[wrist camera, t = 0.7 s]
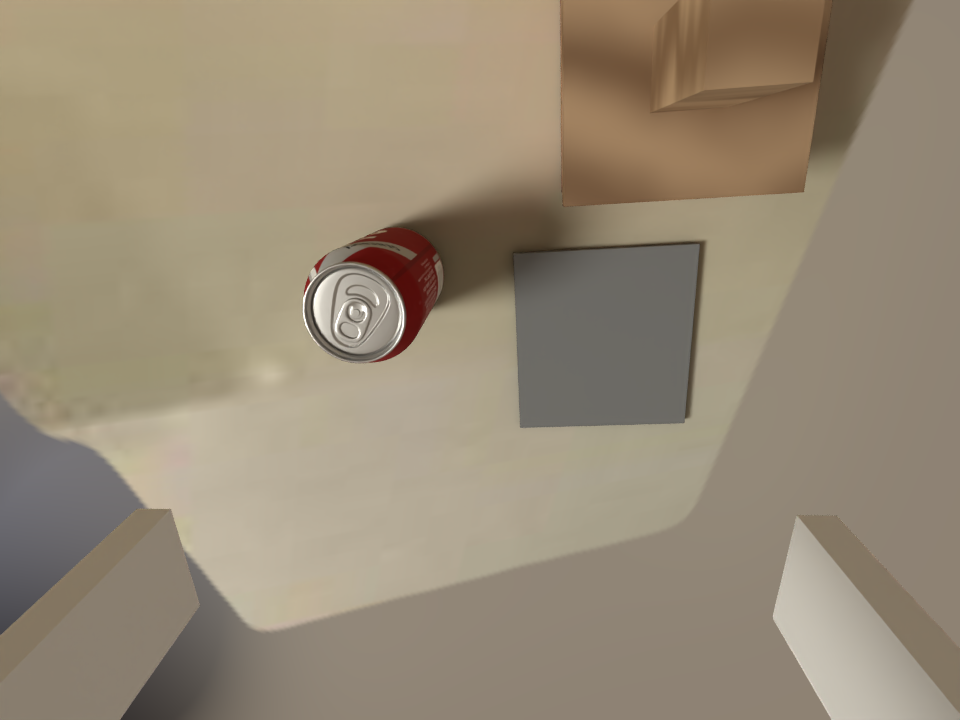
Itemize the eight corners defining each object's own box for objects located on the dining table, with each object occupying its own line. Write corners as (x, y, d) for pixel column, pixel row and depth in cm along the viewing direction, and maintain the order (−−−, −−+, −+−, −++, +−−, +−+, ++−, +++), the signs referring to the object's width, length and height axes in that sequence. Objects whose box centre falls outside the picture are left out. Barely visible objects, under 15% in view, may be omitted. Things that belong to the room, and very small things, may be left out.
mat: (513, 252, 37) (513, 254, 36) (696, 242, 36) (699, 243, 35) (520, 424, 42) (520, 427, 41) (682, 419, 41) (684, 422, 40)
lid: (560, -65, 25) (586, -187, 17) (833, -93, 24) (1009, -237, 16) (562, 205, 30) (583, 219, 21) (792, 191, 29) (912, 199, 20)
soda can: (459, 250, 37) (437, 284, 26) (424, 330, 39) (390, 393, 28) (374, 210, 36) (313, 227, 25) (343, 293, 39) (275, 343, 27)
